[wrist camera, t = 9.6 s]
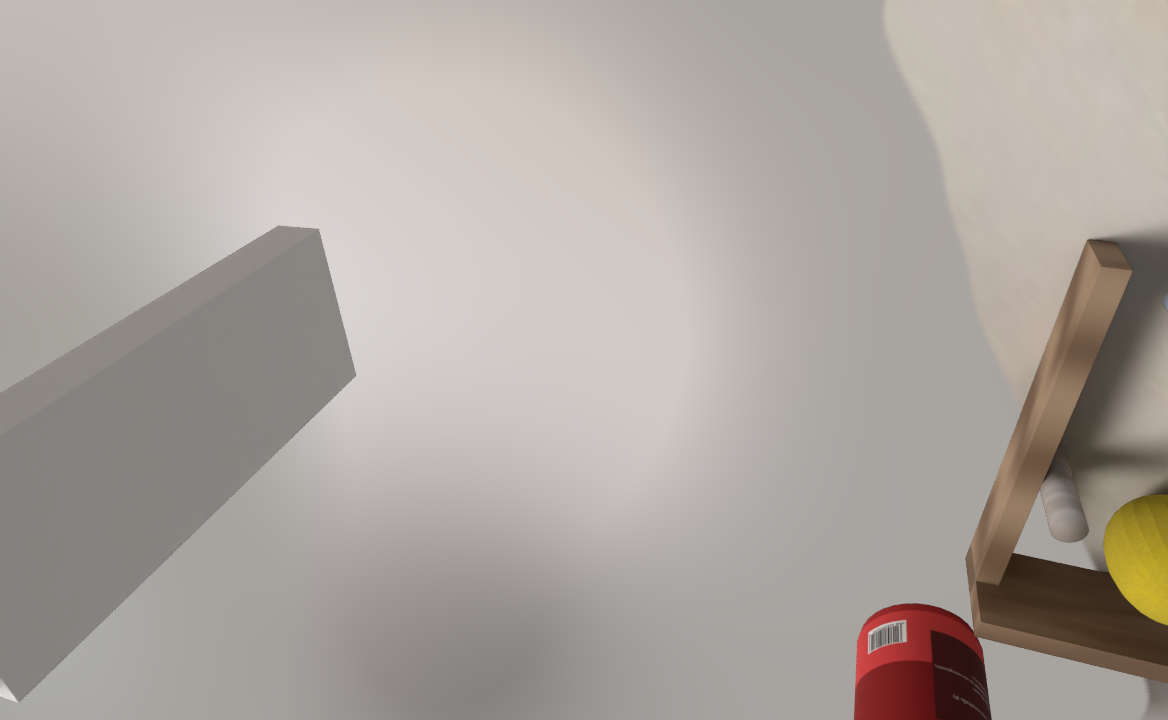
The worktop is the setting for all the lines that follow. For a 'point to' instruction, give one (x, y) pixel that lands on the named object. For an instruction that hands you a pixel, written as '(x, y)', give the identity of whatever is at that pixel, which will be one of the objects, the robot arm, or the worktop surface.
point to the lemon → (1140, 554)
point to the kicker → (1166, 301)
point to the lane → (1059, 507)
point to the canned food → (919, 667)
